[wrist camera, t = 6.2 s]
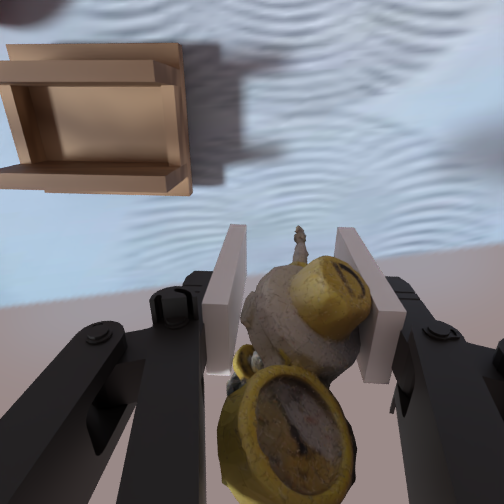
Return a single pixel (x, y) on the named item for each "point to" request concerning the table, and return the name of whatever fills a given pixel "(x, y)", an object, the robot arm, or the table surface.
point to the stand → (97, 118)
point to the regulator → (293, 385)
